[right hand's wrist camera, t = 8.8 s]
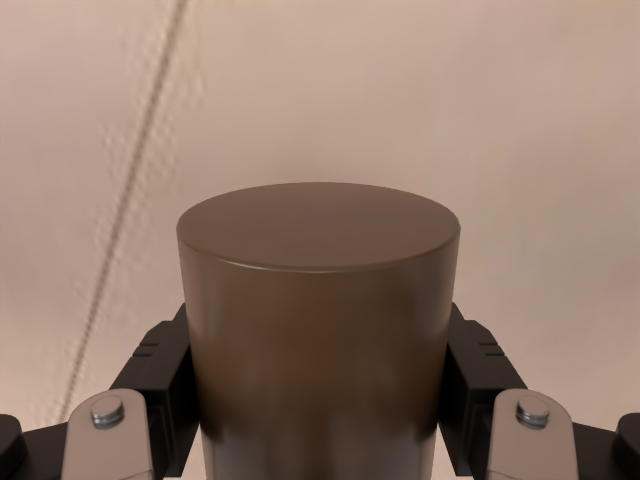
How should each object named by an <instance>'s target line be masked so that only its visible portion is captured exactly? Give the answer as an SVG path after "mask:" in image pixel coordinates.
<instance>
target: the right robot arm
mask: <svg viewBox="0 0 640 480" xmlns="http://www.w3.org/2000/svg"><path fill="white" fill-rule="evenodd" d="M199 424H200V420H199V412H198V403H197V395H196V387H195V379H194V371H193V362H192V354H191V346H190V338H189V330H188V321H187V313H186V305H185V303H183V304H182V306H181V307H180V309H179V311H178V312H177V314H176V316H175V317H174V319H173V321H162V322H160V323H159V324H158V325H156V326H155V327H153V328H152V329H151V330H149V331H148V332H147V333H146V335H145V336H144V338H143V339H142V341H141V342H140V345H139V346H138V347H137V348H136V350H135V351H134V353H133V356H132V357H130V359H129V360H128V362H127V363H126V365H125V366H124V368H123V369H122V371H121V372H120V374H119V375H118V377H117V378H116V380H115V381H114V383H113V384H112V385H111V387H110V388H109V390H108V391H104V392H101V393H99V394H96V395H94V396H92V397H90V398H88V399H87V400H85V401H84V402H82V403H81V404H80V405H79V406H78V407H77V408H76V409H75V410H74V411H73V412H72V414H71V415H70V417H69V420H68V422H65V423H62V424H58V425H54V426H50V427H45V428H41V429H36V430H32V431H27V432H22V429H21V425H20V423H19V421H18V419H17V418H15V417H13V416H11V415H7V414H0V480H163V478H164V477H181V476H182V473H183V470H184V467H185V464H186V461H187V458H188V455H189V452H190V450H191V447H192V444H193V441H194V438H195V435H196V432H197V429H198V426H199ZM438 425H439V427H440V430H441V433H442V436H443V439H444V442H445V445H446V448H447V451H448V454H449V457H450V460H451V463H452V466H453V469H454V472H455V475H456V476H473V478H474V480H640V413H630V414H626V415H624V416H622V417H621V418H620V420H619V422H618V425H617V428H616V432H613V431H609V430H604V429H600V428H596V427H591V426H587V425H582V424H578V423H575V422H572V420H571V417H570V415H569V414H568V412H567V411H566V410H565V409H564V408H563V407H562V406H561V405H560V404H559V403H558V402H556V401H555V400H553V399H552V398H550V397H548V396H546V395H544V394H541V393H539V392H536V391H532V390H528V388H527V387H526V385H525V384H524V382H523V381H522V379H521V378H520V376H519V375H518V373H517V372H516V370H515V368H514V367H513V365H512V364H511V362H510V361H509V359H508V358H507V356H505V353H504V352H503V350H502V349H501V347H500V346H498V343H497V341H496V340H495V338H494V337H493V335H492V334H491V332H490V331H489V330H488V329H486V328H485V327H483V326H482V325H481V324H479V323H478V322H476V321H475V320H465V319H464V318H463V316H462V314H461V313H460V311H459V309H458V308H457V306H456V304H455V303H454V302H452V305H451V314H450V322H449V331H448V339H447V347H446V356H445V364H444V373H443V381H442V389H441V398H440V406H439V415H438Z"/></svg>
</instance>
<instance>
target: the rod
mask: <svg viewBox="0 0 640 480" xmlns="http://www.w3.org/2000/svg"><path fill="white" fill-rule="evenodd" d="M176 230H177V239H178V247H179V256H180V264H181V272H182V280H183V289H184V297H185V305H186V313H187V321H188V330H189V338H190V346H191V354H192V362H193V371H194V379H195V387H196V395H197V403H198V412H199V420H200V428H201V436H202V444H203V453H204V461H205V469H206V477H207V480H431V473H432V465H433V457H434V448H435V440H436V431H437V423H438V415H439V406H440V398H441V389H442V381H443V373H444V364H445V356H446V347H447V339H448V331H449V322H450V314H451V305H452V297H453V289H454V280H455V272H456V263H457V255H458V247H459V238H460V230H461V227H460V224H459V221H458V218H457V217H456V216H455V214H454V213H453V212H451V211H450V210H449V209H448V208H446V207H444V206H443V205H441V204H439V203H437V202H435V201H433V200H430V199H427V198H425V197H422V196H419V195H416V194H412V193H409V192H405V191H400V190H396V189H390V188H385V187H378V186H371V185H362V184H350V183H327V182H311V183H288V184H276V185H267V186H260V187H253V188H247V189H242V190H237V191H233V192H229V193H225V194H222V195H218V196H216V197H213V198H210V199H207V200H205V201H203V202H201V203H198V204H196V205H195V206H193V207H191V208H190V209H188V210H187V211H186V212H185V213H183V215H182V216H181V217H180V219H179V221H178V224H177V227H176Z"/></svg>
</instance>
